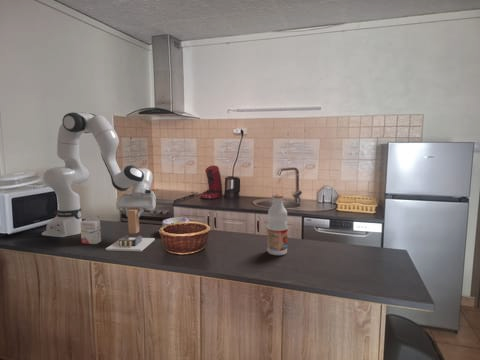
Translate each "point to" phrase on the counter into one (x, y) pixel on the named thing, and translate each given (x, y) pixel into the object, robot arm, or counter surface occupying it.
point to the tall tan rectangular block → (133, 221)
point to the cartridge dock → (130, 244)
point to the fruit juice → (277, 227)
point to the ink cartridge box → (91, 230)
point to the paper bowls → (174, 221)
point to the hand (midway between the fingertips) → (132, 216)
